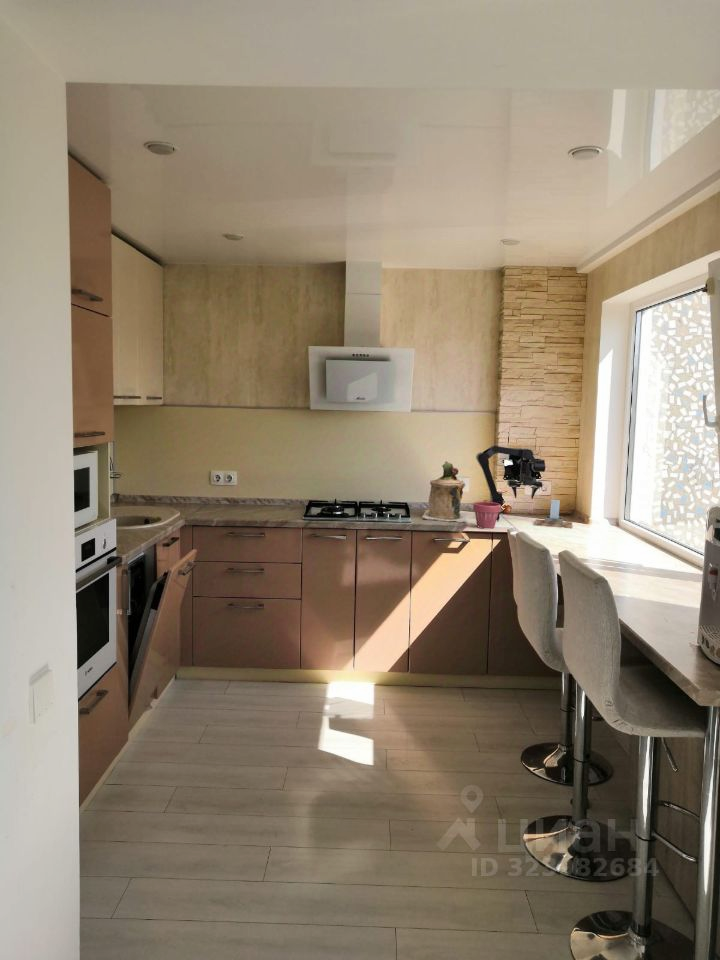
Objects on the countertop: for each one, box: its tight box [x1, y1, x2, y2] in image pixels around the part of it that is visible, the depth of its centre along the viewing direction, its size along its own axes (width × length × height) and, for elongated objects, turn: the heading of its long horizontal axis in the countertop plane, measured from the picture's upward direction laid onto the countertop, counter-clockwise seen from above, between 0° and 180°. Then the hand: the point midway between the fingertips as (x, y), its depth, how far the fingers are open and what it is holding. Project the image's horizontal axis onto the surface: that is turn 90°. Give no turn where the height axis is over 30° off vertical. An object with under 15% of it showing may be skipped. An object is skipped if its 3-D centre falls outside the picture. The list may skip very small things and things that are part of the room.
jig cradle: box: [534, 514, 573, 529], centre depth 415 cm, size 20×13×4 cm, turn 76°
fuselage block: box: [549, 499, 561, 519], centre depth 414 cm, size 5×5×12 cm
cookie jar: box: [422, 461, 468, 523], centre depth 420 cm, size 25×25×32 cm
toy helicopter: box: [482, 490, 513, 514], centre depth 446 cm, size 8×21×14 cm, turn 122°
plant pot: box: [472, 501, 501, 529], centre depth 397 cm, size 14×14×13 cm
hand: (523, 498), depth 420 cm, fingers open, 9 cm apart
